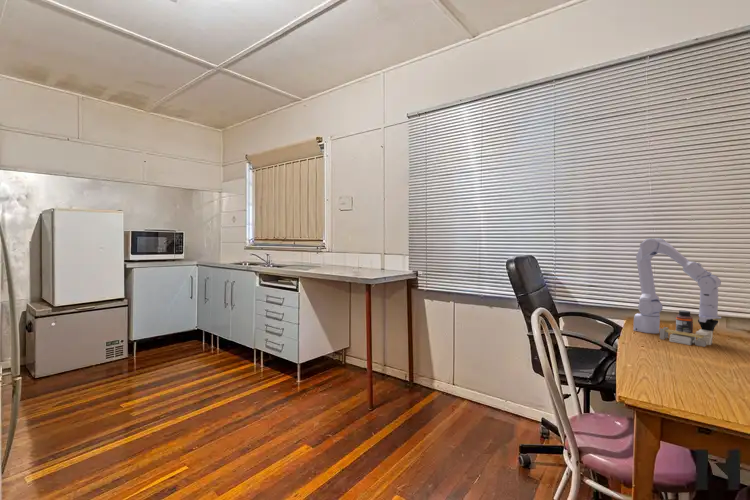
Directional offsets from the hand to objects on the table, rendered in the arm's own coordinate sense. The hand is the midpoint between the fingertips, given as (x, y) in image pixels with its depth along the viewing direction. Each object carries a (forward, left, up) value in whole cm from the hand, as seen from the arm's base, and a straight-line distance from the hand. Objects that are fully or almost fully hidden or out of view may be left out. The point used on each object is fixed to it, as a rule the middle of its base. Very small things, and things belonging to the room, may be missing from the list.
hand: (707, 337), depth 159 cm
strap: (-6, -8, +1) cm, 10 cm away
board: (-6, -7, -3) cm, 10 cm away
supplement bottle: (-11, +11, -4) cm, 16 cm away
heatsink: (-6, -8, -2) cm, 10 cm away
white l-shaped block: (0, -4, -2) cm, 5 cm away
